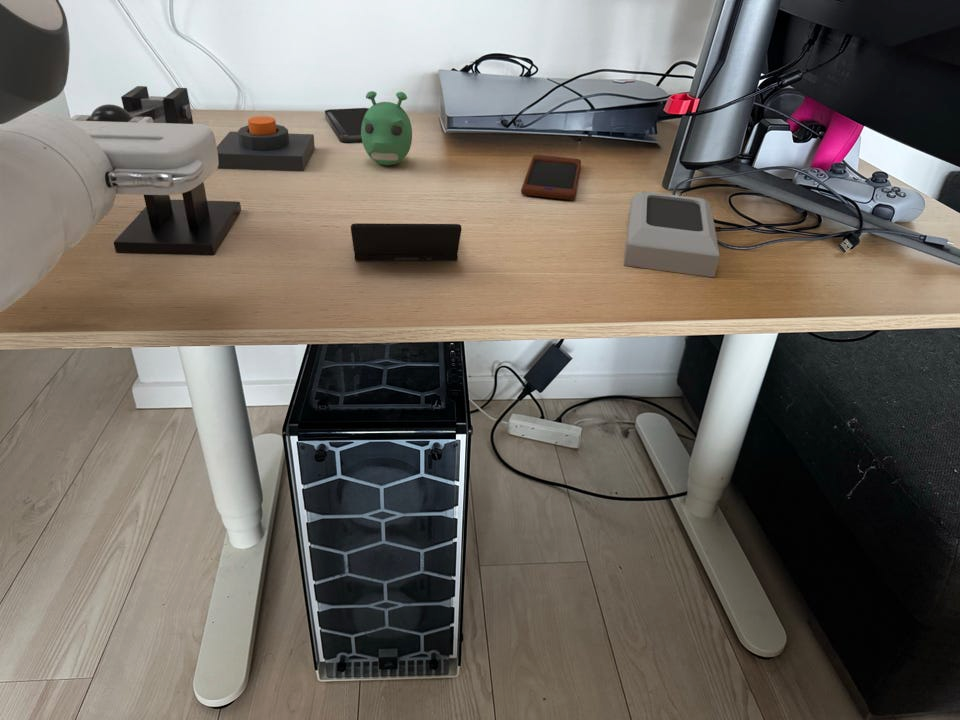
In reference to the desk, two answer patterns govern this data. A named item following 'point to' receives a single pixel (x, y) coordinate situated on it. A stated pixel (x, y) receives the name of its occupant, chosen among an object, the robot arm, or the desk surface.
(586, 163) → the desk surface
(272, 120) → the button
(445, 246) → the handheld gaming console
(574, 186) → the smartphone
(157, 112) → the lever
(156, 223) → the bracket
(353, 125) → the phone
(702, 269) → the grey tapered block
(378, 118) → the alien toy
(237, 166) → the button box
